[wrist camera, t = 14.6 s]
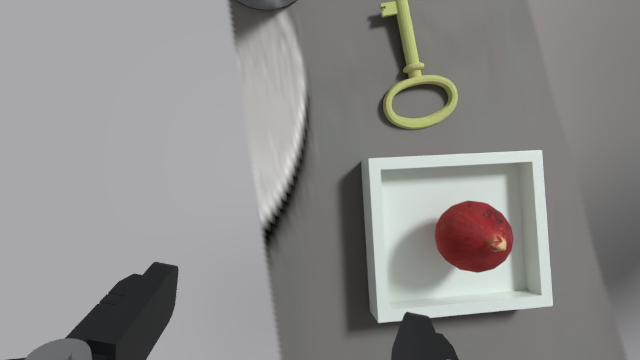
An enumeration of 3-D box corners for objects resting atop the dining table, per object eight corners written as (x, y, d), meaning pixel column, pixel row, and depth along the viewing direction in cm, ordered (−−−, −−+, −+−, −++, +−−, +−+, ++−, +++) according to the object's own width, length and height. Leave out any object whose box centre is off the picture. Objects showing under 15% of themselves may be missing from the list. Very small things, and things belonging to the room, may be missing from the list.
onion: (441, 188, 33) (490, 187, 25) (491, 220, 33) (556, 229, 25) (409, 242, 32) (450, 258, 25) (461, 273, 33) (517, 300, 25)
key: (397, 0, 35) (404, -12, 32) (460, 108, 35) (472, 103, 33) (335, 35, 34) (338, 25, 32) (400, 145, 34) (408, 143, 32)
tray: (360, 161, 33) (368, 158, 30) (519, 153, 35) (541, 150, 32) (369, 310, 33) (378, 322, 30) (529, 295, 35) (553, 305, 32)
